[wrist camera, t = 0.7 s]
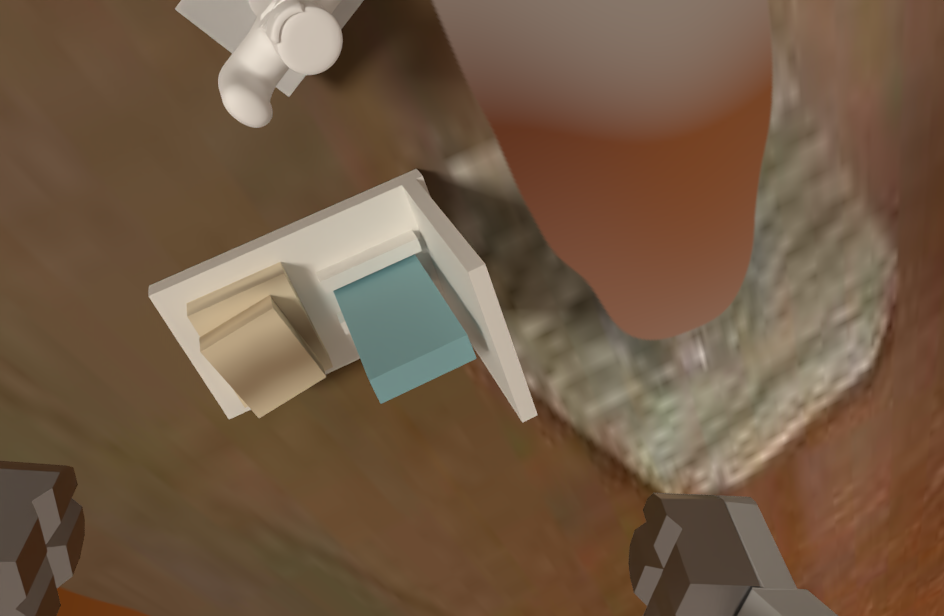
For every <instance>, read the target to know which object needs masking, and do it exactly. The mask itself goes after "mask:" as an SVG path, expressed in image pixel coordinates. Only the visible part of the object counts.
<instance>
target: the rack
mask: <svg viewBox="0 0 944 616" xmlns="http://www.w3.org/2000/svg"><path fill="white" fill-rule="evenodd" d="M414 254H415V255H416V257H417V258H418V260H419V261H420V263H421V264H422V266H423V268H424V269H425V271H426V272H427V274H428V275H429V277H430V278H431V280H432V281H433V283H434V284H435V286H436V287H437V289H438V290H439V292H440V294H441V295H442V297H443V298H444V300H445V301H446V303H447V304H448V306H449V307H450V309H451V310H452V312H453V313H454V315H455V316H456V318H457V320H458V321H459V323H460V324H461V326H462V327H463V329H464V330H465V332H466V333H467V335H468V338H469V340H470V343H471V344H472V346H473V347H474V349H475V350H476V352H477V353H478V355H479V356H480V358H481V359H482V361H483V363H484V364H485V366H486V367H487V369H488V370H489V372H490V373H491V375H492V376H493V378H494V379H495V381H496V383H497V384H498V386H499V387H500V389H501V390H502V392H503V393H504V395H505V396H506V398H507V399H508V401H509V403H510V404H511V406H512V407H513V409H514V410H515V412H516V413H517V415H518V416H519V418H520V419H521V421H522V422H524V421H527V420H529V419H531V418H533V417H535V416H537V412H536V409H535V406H534V403H533V401H532V398H531V395H530V392H529V389H528V386H527V383H526V380H525V377H524V375H523V372H522V369H521V366H520V363H519V360H518V357H517V354H516V351H515V348H514V346H513V343H512V340H511V337H510V334H509V331H508V328H507V325H506V322H505V320H504V317H503V314H502V311H501V308H500V305H499V302H498V299H497V296H496V293H495V291H494V288H493V285H492V282H491V279H490V276H489V273H488V270H487V267H486V265H485V263H484V262H483V261H482V259H481V258H480V257H479V256H478V254H477V253H476V252H475V251H474V250H473V248H472V247H471V246H470V245H469V243H468V242H467V241H466V240H465V239H464V237H463V236H462V235H461V234H460V232H459V231H458V230H457V229H456V228H455V226H454V225H453V224H452V223H451V221H450V220H449V219H448V218H447V217H446V215H445V214H444V213H443V212H442V210H441V209H440V208H439V207H438V206H437V204H436V203H435V202H434V201H433V199H432V198H431V197H430V194H429V192H428V189H427V186H426V183H425V181H424V178H423V176H422V174H421V173H420V172H419V171H418V170H417V169H415V170H413V171H410V172H408V173H406V174H403V175H401V176H399V177H397V178H394V179H392V180H390V181H387V182H385V183H383V184H381V185H378V186H376V187H374V188H371V189H369V190H367V191H365V192H362V193H360V194H358V195H355V196H353V197H351V198H349V199H346V200H344V201H342V202H339V203H337V204H335V205H333V206H330V207H328V208H326V209H323V210H321V211H319V212H317V213H314V214H312V215H310V216H307V217H305V218H303V219H301V220H298V221H296V222H294V223H291V224H289V225H287V226H285V227H282V228H280V229H278V230H275V231H273V232H271V233H269V234H266V235H264V236H262V237H259V238H257V239H255V240H253V241H250V242H248V243H246V244H243V245H241V246H239V247H236V248H234V249H232V250H230V251H227V252H225V253H223V254H220V255H218V256H216V257H214V258H211V259H209V260H207V261H204V262H202V263H200V264H198V265H195V266H193V267H191V268H188V269H186V270H184V271H182V272H179V273H177V274H175V275H172V276H170V277H168V278H166V279H163V280H161V281H159V282H156V283H154V284H152V285H150V286H149V298H150V299H151V301H152V302H153V304H154V305H155V307H156V308H157V310H158V312H159V313H160V315H161V316H162V318H163V319H164V321H165V322H166V324H167V325H168V327H169V328H170V330H171V331H172V333H173V334H174V336H175V338H176V339H177V341H178V342H179V344H180V345H181V347H182V348H183V350H184V351H185V353H186V354H187V356H188V357H189V359H190V360H191V362H192V364H193V365H194V367H195V368H196V370H197V371H198V373H199V374H200V376H201V377H202V379H203V380H204V382H205V383H206V385H207V386H208V388H209V389H210V391H211V393H212V394H213V396H214V397H215V399H216V400H217V402H218V403H219V405H220V406H221V408H222V409H223V411H224V412H225V414H226V415H227V417H228V419H231V418H233V417H235V416H238V415H240V414H242V413H244V412H246V411H248V410H250V408H249V406H248V407H246V408H245V407H244V406H243V404H242V403H241V401H240V399H239V398H238V396H237V395H236V393H235V392H234V390H233V388H232V387H231V386H230V385H229V384H228V383H227V382H226V381H225V379H224V378H223V377H222V376H221V375H220V374H219V373H218V371H217V370H216V369H215V368H214V367H213V366H212V365H211V364H210V362H209V361H208V360H207V359H206V358H205V357H204V356H203V355H202V353H201V352H200V342H199V338H200V336H199V334H198V333H197V331H196V330H195V328H194V327H193V325H192V323H191V322H190V320H189V319H188V317H187V304H186V303H188V302H191V301H193V300H195V299H197V298H200V297H202V296H204V295H206V294H209V293H211V292H213V291H216V290H218V289H220V288H222V287H225V286H227V285H229V284H231V283H234V282H236V281H238V280H240V279H243V278H245V277H247V276H249V275H252V274H254V273H256V272H258V271H261V270H263V269H265V268H267V267H270V266H272V265H274V264H276V263H279V262H281V264H282V265H283V267H284V269H285V271H286V273H287V275H288V277H289V279H290V281H291V283H292V285H293V287H294V288H295V290H296V292H297V294H298V296H299V298H300V300H301V302H302V304H303V306H304V308H305V310H306V312H307V313H308V315H309V317H310V319H311V321H312V323H313V325H314V327H315V329H316V331H317V333H318V335H319V336H320V338H321V340H322V342H323V344H324V346H325V348H326V350H327V352H328V354H329V357H330V360H331V363H332V365H333V367H332V368H330V369H328V370H326V371H325V374H328V373H330V372H332V371H334V370H337V369H339V368H341V367H343V366H345V365H347V364H349V363H352V362H354V361H356V360H358V359H360V356H359V354H358V351H357V349H356V346H355V344H354V342H353V339H352V337H351V334H350V332H349V329H348V327H347V324H346V322H345V319H344V317H343V314H342V312H341V309H340V307H339V304H338V302H337V299H336V297H335V294H334V292H333V291H334V290H336V289H338V288H341V287H343V286H345V285H347V284H350V283H352V282H354V281H356V280H358V279H361V278H363V277H365V276H367V275H369V274H372V273H374V272H376V271H378V270H381V269H383V268H385V267H387V266H389V265H392V264H394V263H396V262H398V261H400V260H403V259H405V258H407V257H409V256H412V255H414Z"/></svg>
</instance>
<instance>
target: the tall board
mask: <svg viewBox="0 0 944 616" xmlns="http://www.w3.org/2000/svg"><path fill="white" fill-rule="evenodd" d="M333 292H334V294H335V297H336V299H337V302H338V304H339V307H340V309H341V312H342V314H343V317H344V319H345V322H346V324H347V327H348V329H349V332H350V334H351V337H352V339H353V342H354V344H355V346H356V349H357V351H358V354H359V356H360V359H361V361H362V364H363V366H364V369H365V371H366V374H367V376H368V379H369V381H370V383H371V385H372V387H373V389H374V391H375V393H376V395H377V397H378V399H379V401H380V403H381V404H382V403H384V402H386V401H388V400H390V399H392V398H394V397H396V396H398V395H401V394H403V393H405V392H407V391H409V390H411V389H413V388H415V387H417V386H420V385H422V384H424V383H426V382H428V381H430V380H432V379H434V378H436V377H439V376H441V375H443V374H445V373H447V372H449V371H451V370H453V369H455V368H458V367H460V366H462V365H464V364H466V363H468V362H470V361H472V360H474V359H476V356H475V353H474V351H473V348H472V345H471V343H470V340H469V338H468V335H467V333H466V332H465V330H464V329H463V327H462V326H461V324H460V323H459V321H458V320H457V318H456V316H455V315H454V313H453V312H452V310H451V309H450V307H449V306H448V304H447V303H446V301H445V300H444V298H443V297H442V295H441V294H440V292H439V290H438V289H437V287H436V286H435V284H434V283H433V281H432V280H431V278H430V277H429V275H428V274H427V272H426V271H425V269H424V268H423V266H422V264H421V263H420V261H419V260H418V258H417V257H416V255H415V254H414V255H412V256H409V257H407V258H405V259H403V260H400V261H398V262H396V263H394V264H392V265H389V266H387V267H385V268H383V269H381V270H378V271H376V272H374V273H372V274H369V275H367V276H365V277H363V278H361V279H358V280H356V281H354V282H352V283H350V284H347V285H345V286H343V287H341V288H338V289H336V290H334V291H333Z"/></svg>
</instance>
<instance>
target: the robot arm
mask: <svg viewBox="0 0 944 616" xmlns="http://www.w3.org/2000/svg"><path fill="white" fill-rule="evenodd" d="M77 485H78V484H77V480H76V476H75V472H74V468H73V467H70V466H65V465H51V464H37V463H23V462H9V461H0V616H56V615H57V613H58V610H59V608H60V606H61V604H60V601H59V596H58V592H57V588H58V587H59V586H60V585H62V584H63V583H64V582H66V581H67V580H68V579H69V578H71V577H72V576H73V574H74V571H75V569H76V566H77V564H78V561H79V559H80V555H81V550H82V545H83V540H84V536H85V519H84V513H83V508H82V506H81V505H79V504H78V503H77V502H76V501H74V500H73V499H72V496H73V494H74V492H75V489H76V487H77ZM643 512H644V515H645V519H646V523H644V524H643V525H641V526H640V527H639V528H637V529H636V530H635V532H634V534H633V537H632V540H631V543H630V550H629V571H630V579H631V583H632V586H633V590H634V593H635V594H636V595H637V596H638V597H639V598H640V599H641V600H642V601H643V602H644V603H645V604H646V605H647V608H646V611H645V613H644V615H643V616H838V615H836V614H835V613H834V612H833V611H832V610H830V609H829V608H828V607H827V606H826V605H824V604H823V603H822V602H821V601H820V600H819V599H817V598H816V597H815V596H814V595H813V594H811V593H810V592H809V591H808V590H804V589H797V587H796V585H795V583H794V581H793V579H792V577H791V575H790V573H789V570H788V568H787V566H786V564H785V562H784V560H783V558H782V556H781V554H780V552H779V550H778V547H777V545H776V543H775V541H774V539H773V537H772V535H771V533H770V531H769V529H768V527H767V524H766V522H765V520H764V518H763V516H762V514H761V512H760V510H759V508H758V506H757V504H756V502H755V501H754V500H753V499H752V498H751V497H738V496H714V495H696V494H668V493H653V494H652V495H651V496H650V497H649V498H648V499H647V501H646V504H645V506H644V508H643Z"/></svg>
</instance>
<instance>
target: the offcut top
mask: <svg viewBox="0 0 944 616" xmlns="http://www.w3.org/2000/svg"><path fill="white" fill-rule="evenodd" d="M199 342H200V352H201V353H202V355H203V356H204V357H205V358H206V359H207V360H208V361H209V362H210V364H211V365H212V366H213V367H214V368H215V369H216V370H217V371H218V373H219V374H220V375H221V376H222V377H223V378H224V379H225V381H226V382H227V383H228V384H229V385H230V386H231V387H232V388H233V390H234V391H235V392H236V393H237V394H238V395H239V396H240V397H241V399H242V400H243V401H244V402H245V403H246V404H247V405H248V406H249V408H250V409H251V410H252V411H253V412H254V413H255V414H256V415H257V417H258V418H260V417H262V416H264V415H265V414H267V413H268V412H270V411H272V410H273V409H275V408H277V407H278V406H280V405H282V404H283V403H285V402H286V401H288V400H290V399H291V398H293V397H295V396H296V395H298V394H299V393H301V392H303V391H304V390H306V389H308V388H309V387H311V386H312V385H314V384H316V383H317V382H319V381H321V380H322V379H324V378H326V374H325V371H324V368H323V365H322V362H321V361H320V360H319V358H318V357H317V356H316V354H315V353H314V352H313V351H312V349H311V348H310V347H309V345H308V344H307V343H306V341H305V340H304V339H303V338H302V336H301V335H300V334H299V332H298V331H297V330H296V328H295V327H294V326H293V324H292V323H291V322H290V321H289V319H288V318H287V317H286V315H285V314H284V313H283V311H282V310H281V309H280V308H279V306H278V305H277V304H276V302H275V301H274V300H273V298H272V297H271V296H270V295H269V296H267V297H265V298H264V299H262V300H261V301H259V302H257V303H256V304H254V305H252V306H251V307H249V308H247V309H246V310H244V311H242V312H241V313H239V314H237V315H236V316H234V317H232V318H231V319H229V320H228V321H226V322H224V323H223V324H221V325H219V326H218V327H216V328H214V329H213V330H211V331H209V332H208V333H206V334H204V335H203V336H201V337H200V338H199Z"/></svg>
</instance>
